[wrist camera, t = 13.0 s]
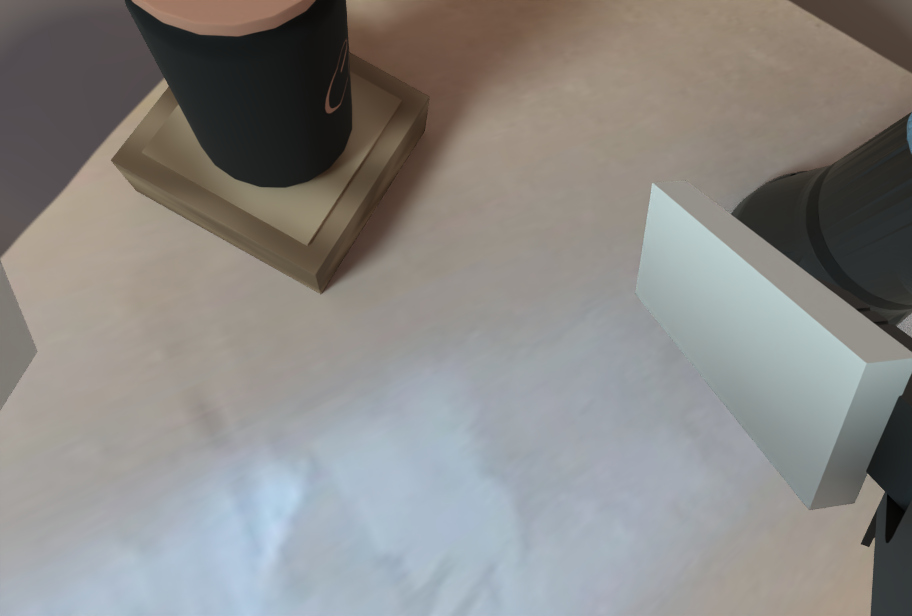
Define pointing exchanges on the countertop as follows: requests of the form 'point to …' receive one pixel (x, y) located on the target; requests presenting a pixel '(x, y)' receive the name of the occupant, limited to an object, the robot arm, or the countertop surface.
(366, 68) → the wooden tray
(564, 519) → the countertop surface
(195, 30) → the coffee jar
